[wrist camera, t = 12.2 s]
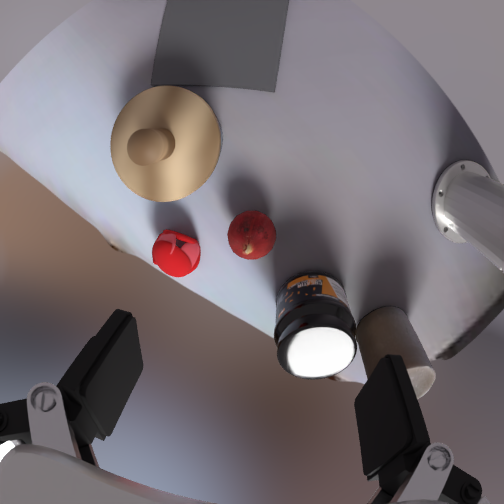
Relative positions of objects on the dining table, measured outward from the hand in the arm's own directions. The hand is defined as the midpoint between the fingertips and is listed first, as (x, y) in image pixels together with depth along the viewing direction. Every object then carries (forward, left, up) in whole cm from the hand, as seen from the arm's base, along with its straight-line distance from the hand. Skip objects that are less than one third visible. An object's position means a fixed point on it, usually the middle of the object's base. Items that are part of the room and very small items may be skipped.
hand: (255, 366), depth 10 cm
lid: (+13, -5, -22) cm, 26 cm away
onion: (+2, +5, -28) cm, 29 cm away
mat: (+10, -20, -28) cm, 36 cm away
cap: (+12, +10, -29) cm, 33 cm away
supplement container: (-8, +15, -28) cm, 33 cm away
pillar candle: (-22, +19, -28) cm, 41 cm away
